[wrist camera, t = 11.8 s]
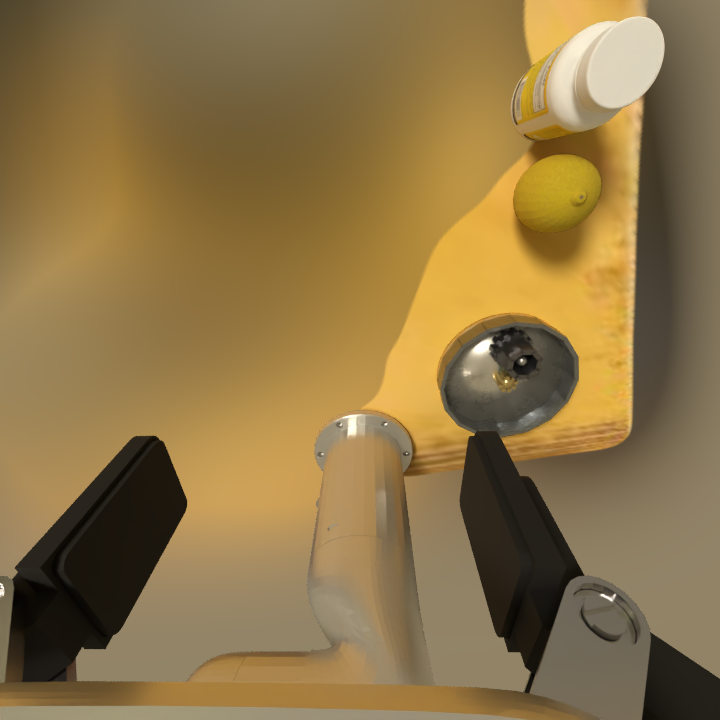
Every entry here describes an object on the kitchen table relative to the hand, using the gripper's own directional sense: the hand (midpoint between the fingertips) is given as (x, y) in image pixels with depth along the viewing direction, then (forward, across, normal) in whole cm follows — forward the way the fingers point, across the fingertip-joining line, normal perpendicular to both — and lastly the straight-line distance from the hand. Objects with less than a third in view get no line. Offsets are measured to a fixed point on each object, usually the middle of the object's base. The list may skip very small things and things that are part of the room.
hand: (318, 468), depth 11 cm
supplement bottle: (+26, -16, -13) cm, 33 cm away
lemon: (+26, -16, -6) cm, 32 cm away
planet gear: (+25, -16, +8) cm, 31 cm away
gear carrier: (+26, -16, +12) cm, 33 cm away
